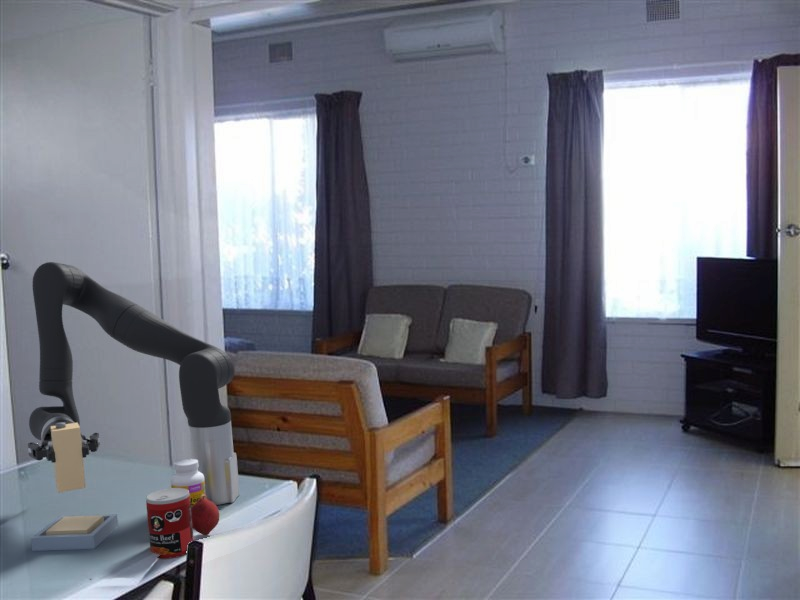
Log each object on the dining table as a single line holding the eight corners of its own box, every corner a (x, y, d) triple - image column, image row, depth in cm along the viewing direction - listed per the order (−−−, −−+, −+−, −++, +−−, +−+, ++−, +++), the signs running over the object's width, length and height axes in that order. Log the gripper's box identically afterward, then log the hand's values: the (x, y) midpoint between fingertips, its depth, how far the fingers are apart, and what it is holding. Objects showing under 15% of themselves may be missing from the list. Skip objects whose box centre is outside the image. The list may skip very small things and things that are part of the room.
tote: (118, 531, 180) (117, 514, 180) (94, 553, 168) (92, 535, 168) (60, 533, 181) (59, 516, 180) (32, 555, 169) (31, 537, 169)
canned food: (142, 557, 165) (137, 499, 164) (168, 541, 172) (164, 486, 171) (176, 561, 162) (171, 502, 161) (202, 545, 169) (197, 488, 168)
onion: (213, 540, 171) (210, 500, 170) (185, 540, 172) (182, 500, 172) (225, 530, 177) (222, 490, 176) (198, 529, 178) (194, 490, 177)
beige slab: (104, 530, 178) (103, 515, 178) (88, 545, 170) (86, 529, 170) (65, 531, 179) (64, 516, 178) (47, 546, 171) (45, 531, 170)
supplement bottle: (191, 531, 177) (185, 468, 176) (167, 526, 181) (162, 464, 180) (214, 520, 183) (209, 459, 182) (191, 516, 187) (186, 456, 185)
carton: (82, 481, 178) (77, 418, 177) (85, 487, 174) (79, 423, 172) (56, 485, 176) (50, 422, 175) (58, 492, 172) (52, 427, 170)
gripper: (22, 424, 184) (26, 441, 168) (95, 414, 190) (106, 430, 174) (25, 460, 184) (30, 480, 169) (98, 448, 190) (109, 467, 175)
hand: (69, 454), depth 172 cm, fingers closed on carton, 5 cm apart
